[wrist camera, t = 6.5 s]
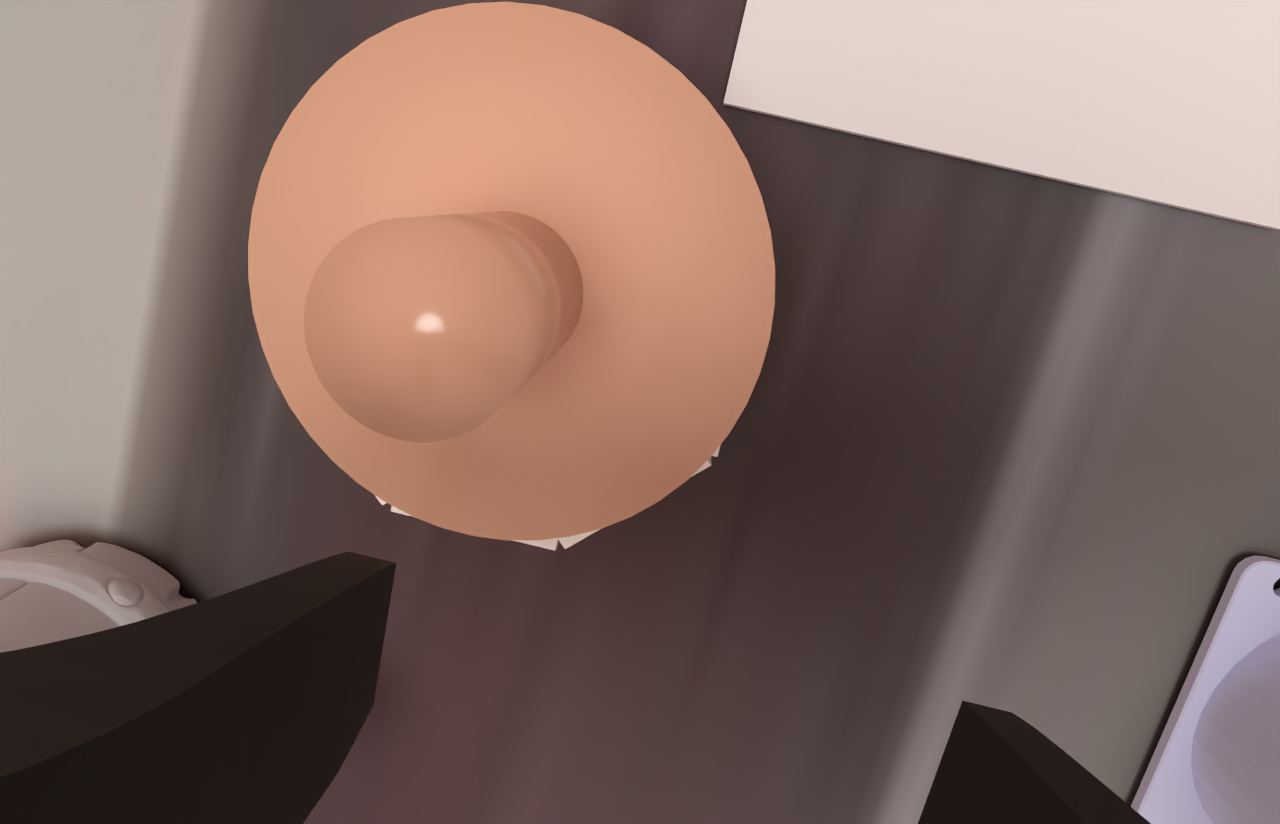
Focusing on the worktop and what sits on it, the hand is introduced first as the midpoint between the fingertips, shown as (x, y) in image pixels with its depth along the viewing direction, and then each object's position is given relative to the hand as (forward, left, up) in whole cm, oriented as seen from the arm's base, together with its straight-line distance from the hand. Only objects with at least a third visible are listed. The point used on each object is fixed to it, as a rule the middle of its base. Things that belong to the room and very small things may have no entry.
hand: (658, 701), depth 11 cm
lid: (+4, -4, -7) cm, 9 cm away
